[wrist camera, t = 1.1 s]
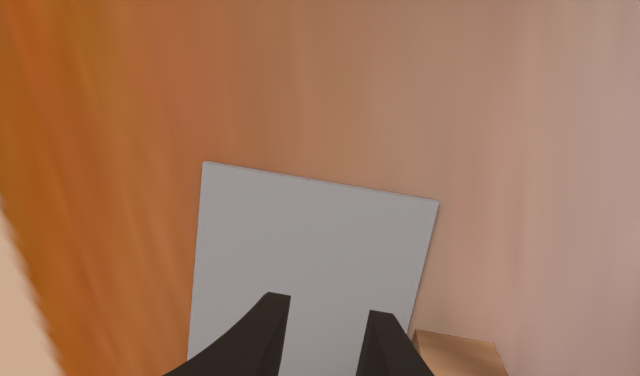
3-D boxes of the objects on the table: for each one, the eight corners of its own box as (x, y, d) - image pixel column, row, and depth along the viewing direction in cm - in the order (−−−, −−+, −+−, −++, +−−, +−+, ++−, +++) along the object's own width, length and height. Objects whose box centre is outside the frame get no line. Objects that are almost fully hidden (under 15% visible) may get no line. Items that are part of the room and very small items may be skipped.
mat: (437, 200, 22) (439, 203, 21) (360, 513, 28) (360, 520, 27) (205, 160, 22) (202, 162, 21) (179, 479, 28) (177, 485, 27)
